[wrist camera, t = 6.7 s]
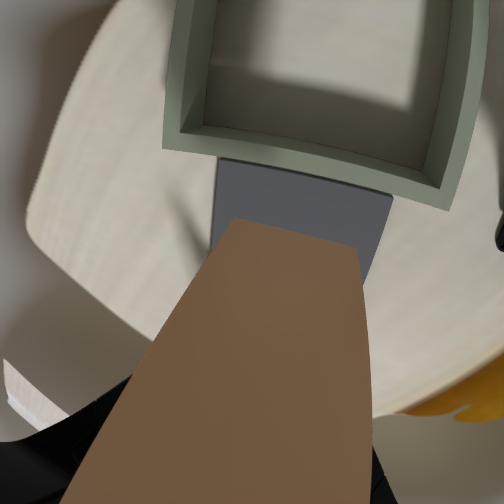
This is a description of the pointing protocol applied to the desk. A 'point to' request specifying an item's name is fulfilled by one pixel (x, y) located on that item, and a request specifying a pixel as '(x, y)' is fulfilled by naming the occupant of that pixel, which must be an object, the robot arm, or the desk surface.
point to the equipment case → (320, 156)
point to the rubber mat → (301, 206)
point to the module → (247, 385)
